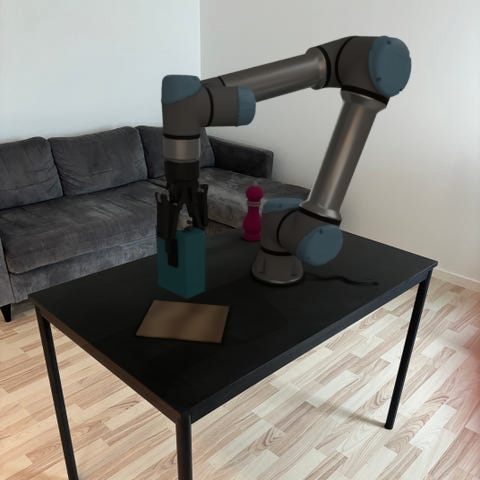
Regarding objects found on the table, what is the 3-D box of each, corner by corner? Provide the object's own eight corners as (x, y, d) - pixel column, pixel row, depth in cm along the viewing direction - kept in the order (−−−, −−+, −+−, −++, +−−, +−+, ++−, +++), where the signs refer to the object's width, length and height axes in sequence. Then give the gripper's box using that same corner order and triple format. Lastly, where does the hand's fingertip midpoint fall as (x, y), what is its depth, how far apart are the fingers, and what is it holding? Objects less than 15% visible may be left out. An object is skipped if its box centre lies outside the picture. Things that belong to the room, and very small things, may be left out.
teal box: (176, 277, 120) (205, 290, 114) (158, 285, 116) (186, 299, 110) (174, 208, 111) (205, 218, 105) (154, 213, 107) (185, 225, 101)
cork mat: (229, 308, 125) (229, 306, 125) (220, 343, 111) (220, 341, 111) (154, 301, 127) (154, 300, 126) (136, 335, 112) (135, 333, 112)
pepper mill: (260, 242, 167) (264, 185, 157) (240, 240, 168) (242, 183, 158) (263, 235, 173) (267, 179, 163) (243, 233, 174) (246, 177, 164)
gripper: (202, 150, 107) (201, 246, 119) (133, 161, 95) (140, 268, 106) (226, 155, 103) (223, 255, 115) (158, 168, 91) (163, 279, 102)
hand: (184, 261), depth 111 cm, fingers closed on teal box, 6 cm apart
